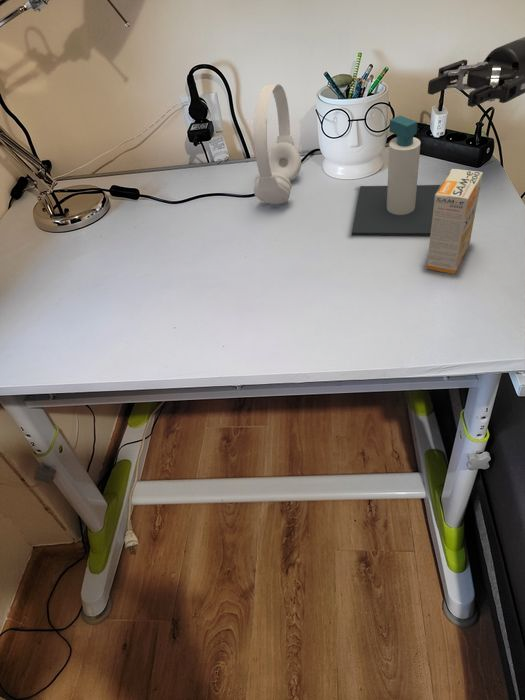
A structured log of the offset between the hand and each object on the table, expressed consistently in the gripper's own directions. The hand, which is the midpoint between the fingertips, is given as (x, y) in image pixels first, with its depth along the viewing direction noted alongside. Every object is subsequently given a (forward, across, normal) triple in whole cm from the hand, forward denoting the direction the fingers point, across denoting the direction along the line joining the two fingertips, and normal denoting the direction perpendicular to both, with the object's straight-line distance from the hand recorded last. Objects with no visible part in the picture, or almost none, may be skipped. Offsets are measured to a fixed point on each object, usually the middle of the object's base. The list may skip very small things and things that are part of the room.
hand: (449, 93), depth 82 cm
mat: (+8, -1, +18) cm, 20 cm away
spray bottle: (+8, -1, +18) cm, 19 cm away
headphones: (+20, -23, +18) cm, 35 cm away
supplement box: (+12, +15, +18) cm, 27 cm away
